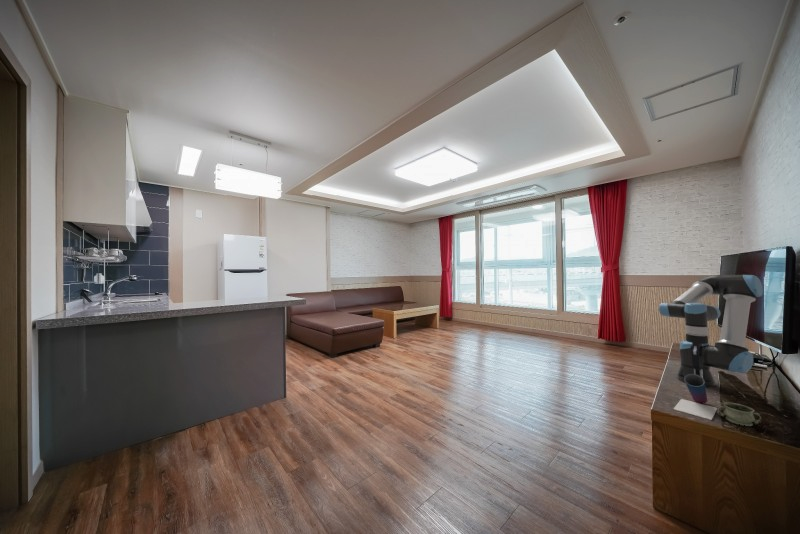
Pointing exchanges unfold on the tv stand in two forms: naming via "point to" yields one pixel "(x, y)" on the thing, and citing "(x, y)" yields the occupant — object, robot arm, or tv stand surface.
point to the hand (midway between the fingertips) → (698, 382)
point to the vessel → (739, 414)
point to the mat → (696, 409)
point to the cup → (696, 387)
